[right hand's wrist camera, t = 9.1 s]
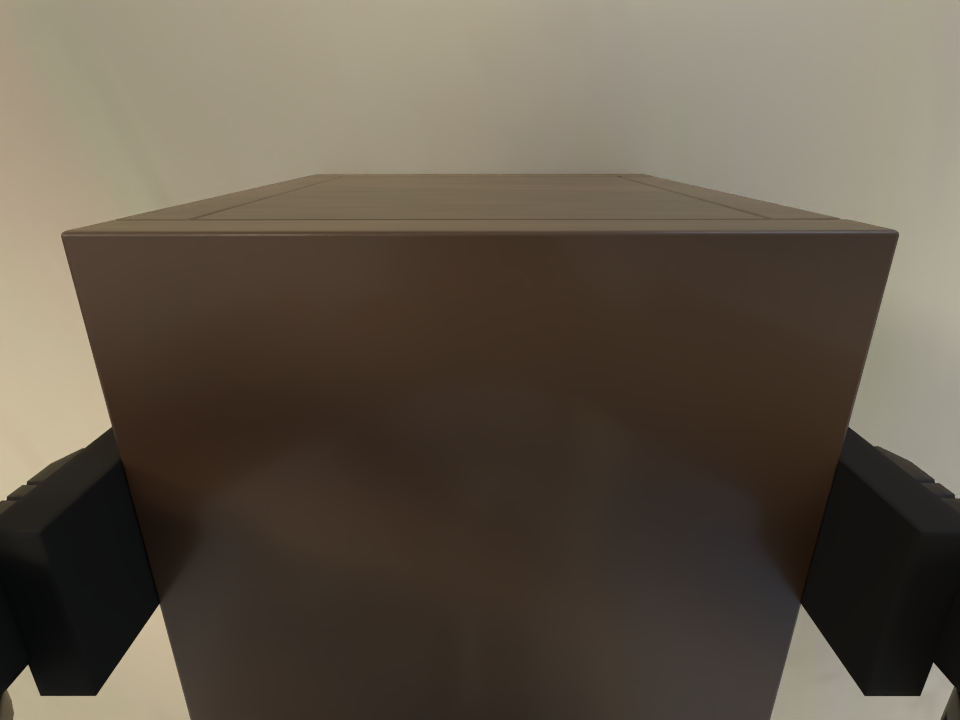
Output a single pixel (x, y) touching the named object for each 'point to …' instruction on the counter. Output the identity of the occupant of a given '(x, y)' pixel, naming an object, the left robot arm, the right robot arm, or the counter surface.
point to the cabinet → (480, 438)
